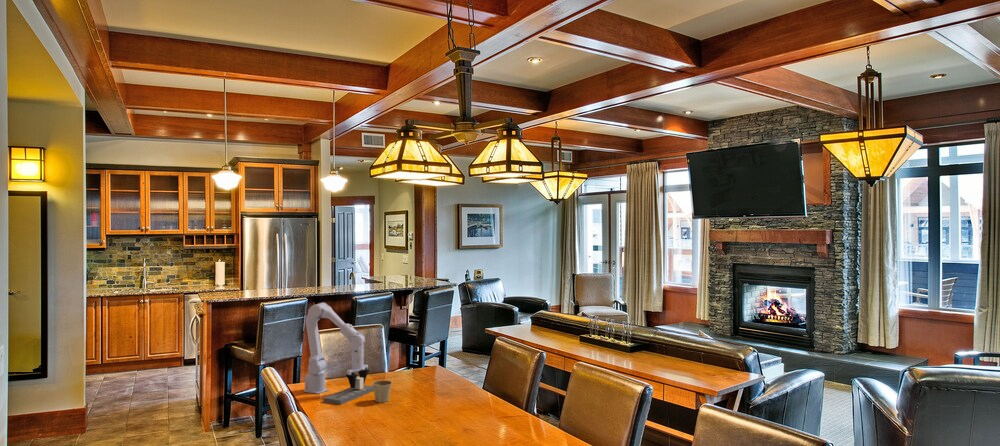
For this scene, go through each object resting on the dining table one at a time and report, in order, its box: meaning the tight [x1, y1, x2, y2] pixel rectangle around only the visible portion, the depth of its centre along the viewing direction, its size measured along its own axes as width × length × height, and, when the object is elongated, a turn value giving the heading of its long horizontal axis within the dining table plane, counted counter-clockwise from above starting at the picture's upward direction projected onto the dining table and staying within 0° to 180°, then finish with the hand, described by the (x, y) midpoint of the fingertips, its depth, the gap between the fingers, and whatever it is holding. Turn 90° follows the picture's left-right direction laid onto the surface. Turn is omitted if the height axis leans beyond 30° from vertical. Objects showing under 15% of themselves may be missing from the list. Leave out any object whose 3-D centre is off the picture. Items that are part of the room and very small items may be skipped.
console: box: [323, 384, 374, 406], centre depth 280 cm, size 10×26×2 cm, turn 157°
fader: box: [353, 376, 365, 389], centre depth 285 cm, size 5×3×5 cm, turn 67°
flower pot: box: [371, 379, 393, 404], centre depth 272 cm, size 9×9×9 cm
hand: (357, 386), depth 285 cm, fingers open, 7 cm apart
